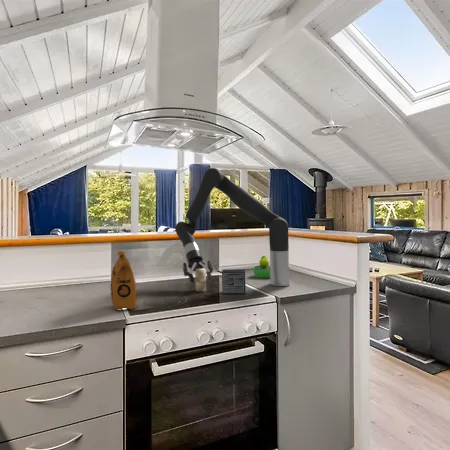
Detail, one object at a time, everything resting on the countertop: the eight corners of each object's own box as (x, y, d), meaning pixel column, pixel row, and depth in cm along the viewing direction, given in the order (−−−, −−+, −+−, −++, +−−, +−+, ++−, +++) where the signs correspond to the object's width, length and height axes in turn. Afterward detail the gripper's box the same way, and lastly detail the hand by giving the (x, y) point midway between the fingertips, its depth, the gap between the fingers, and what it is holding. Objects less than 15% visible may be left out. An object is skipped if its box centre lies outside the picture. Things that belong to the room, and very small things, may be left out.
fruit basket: (252, 277, 178) (252, 257, 177) (255, 274, 186) (255, 255, 186) (272, 278, 175) (272, 258, 174) (275, 275, 183) (275, 255, 182)
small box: (245, 291, 150) (245, 268, 149) (245, 294, 143) (245, 271, 142) (223, 290, 151) (223, 268, 150) (221, 294, 144) (221, 271, 144)
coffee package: (110, 312, 121) (108, 255, 120) (111, 303, 133) (109, 251, 132) (138, 309, 124) (136, 253, 123) (136, 301, 136) (134, 249, 135)
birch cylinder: (206, 288, 154) (206, 268, 154) (205, 291, 149) (205, 270, 149) (196, 288, 155) (196, 268, 154) (194, 291, 150) (194, 270, 149)
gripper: (180, 250, 155) (189, 278, 145) (208, 248, 161) (217, 274, 151) (177, 259, 160) (185, 287, 150) (204, 257, 166) (213, 283, 156)
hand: (201, 280), depth 151 cm, fingers open, 8 cm apart
